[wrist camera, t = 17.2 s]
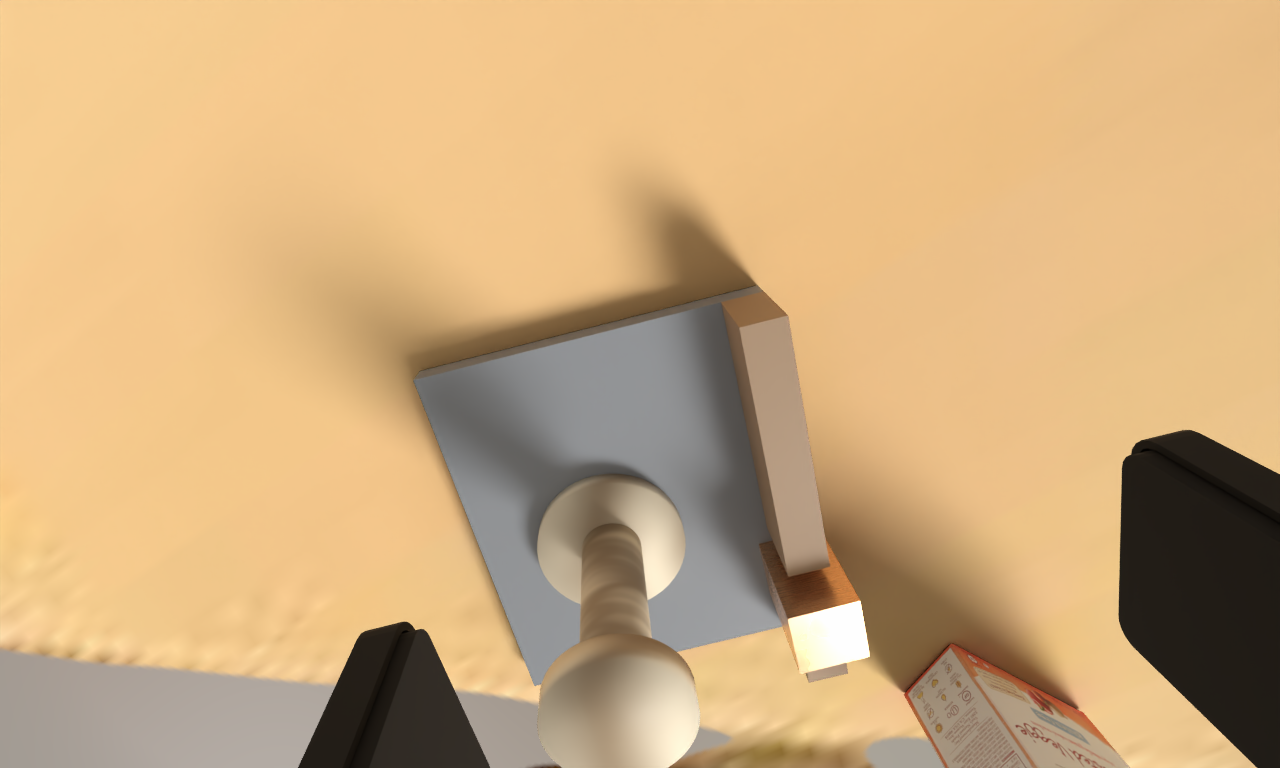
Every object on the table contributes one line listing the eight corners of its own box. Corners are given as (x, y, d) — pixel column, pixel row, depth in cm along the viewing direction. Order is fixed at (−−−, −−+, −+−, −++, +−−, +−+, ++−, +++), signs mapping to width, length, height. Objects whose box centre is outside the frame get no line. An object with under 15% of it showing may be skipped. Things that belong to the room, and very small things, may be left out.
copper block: (819, 528, 43) (860, 600, 36) (829, 578, 44) (870, 656, 38) (758, 544, 43) (788, 619, 36) (769, 593, 44) (800, 674, 38)
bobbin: (665, 457, 40) (699, 617, 27) (696, 578, 44) (740, 771, 31) (519, 493, 41) (484, 669, 28) (561, 610, 44) (548, 816, 31)
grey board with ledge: (757, 285, 38) (787, 315, 32) (814, 602, 47) (848, 673, 41) (419, 371, 39) (387, 416, 33) (536, 669, 47) (527, 749, 41)
